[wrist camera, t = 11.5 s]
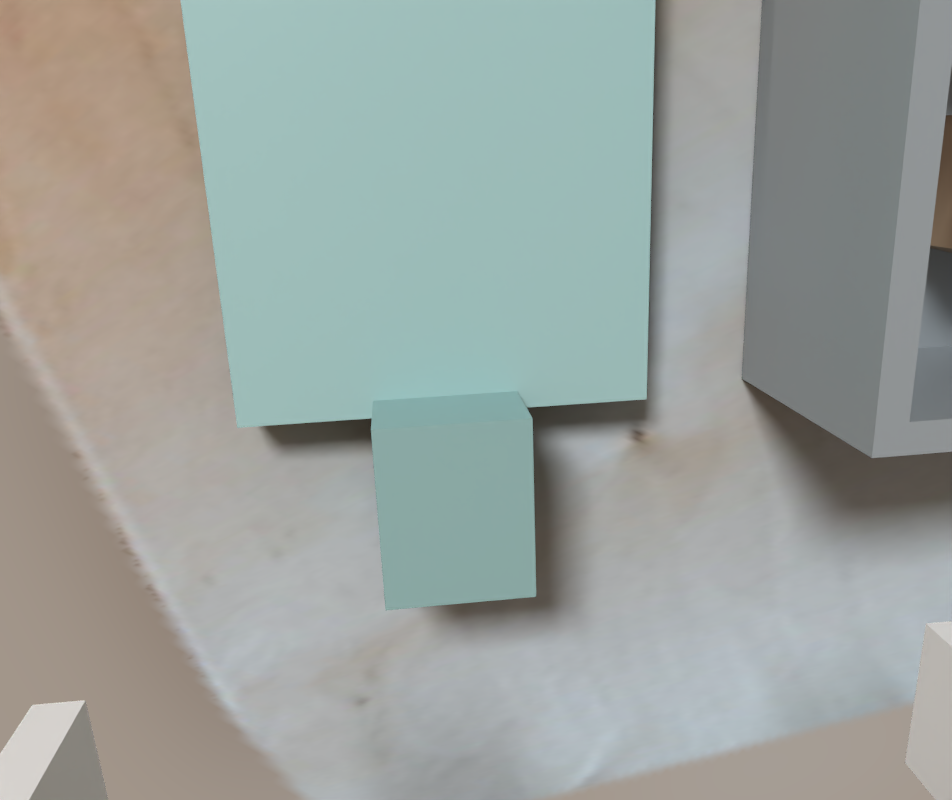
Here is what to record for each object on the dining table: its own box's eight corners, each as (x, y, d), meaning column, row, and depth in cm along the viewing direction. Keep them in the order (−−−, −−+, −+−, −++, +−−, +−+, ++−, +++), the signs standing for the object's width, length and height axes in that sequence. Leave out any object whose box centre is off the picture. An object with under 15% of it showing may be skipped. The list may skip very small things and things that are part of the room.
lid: (164, -266, 19) (98, -392, 15) (636, -264, 20) (704, -381, 16) (267, 544, 25) (241, 623, 21) (624, 514, 26) (671, 584, 22)
